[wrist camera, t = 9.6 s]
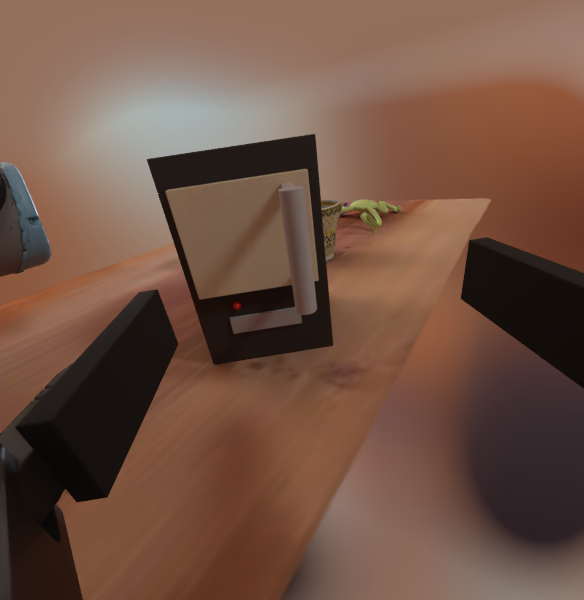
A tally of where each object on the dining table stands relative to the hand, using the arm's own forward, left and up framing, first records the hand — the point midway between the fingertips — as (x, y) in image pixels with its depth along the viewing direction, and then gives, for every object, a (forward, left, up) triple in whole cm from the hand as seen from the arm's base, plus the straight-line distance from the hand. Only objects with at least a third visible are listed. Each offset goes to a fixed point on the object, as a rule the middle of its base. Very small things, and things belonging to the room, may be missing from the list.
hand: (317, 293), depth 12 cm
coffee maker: (+7, +20, -13) cm, 25 cm away
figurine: (+50, +46, -14) cm, 69 cm away
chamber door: (+2, +11, -5) cm, 12 cm away
